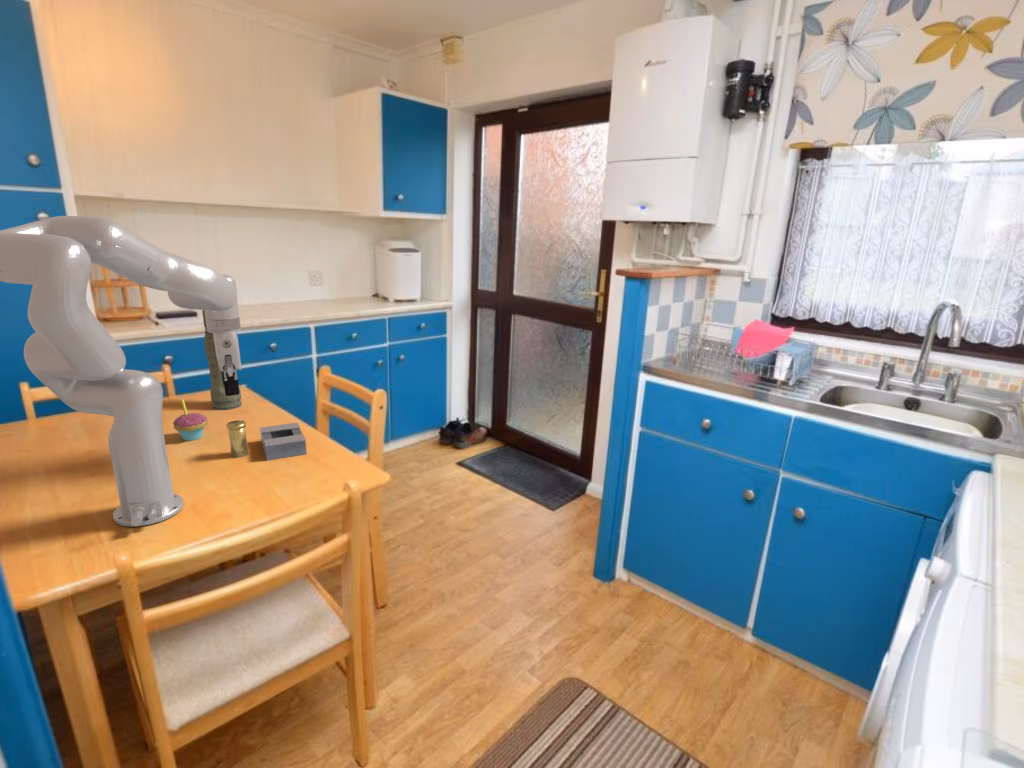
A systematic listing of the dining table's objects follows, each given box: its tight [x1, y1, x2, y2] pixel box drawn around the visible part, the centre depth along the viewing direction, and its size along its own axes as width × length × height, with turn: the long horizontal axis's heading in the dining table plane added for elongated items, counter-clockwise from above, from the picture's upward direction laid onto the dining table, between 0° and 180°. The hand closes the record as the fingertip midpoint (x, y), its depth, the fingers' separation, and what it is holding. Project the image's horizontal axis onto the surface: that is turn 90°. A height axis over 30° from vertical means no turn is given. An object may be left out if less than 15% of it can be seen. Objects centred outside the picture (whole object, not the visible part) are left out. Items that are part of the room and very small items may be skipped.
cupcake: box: [172, 396, 209, 442], centre depth 152 cm, size 9×8×12 cm
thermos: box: [201, 310, 243, 411], centre depth 175 cm, size 9×12×35 cm
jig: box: [259, 422, 308, 461], centre depth 149 cm, size 14×10×4 cm
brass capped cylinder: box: [225, 419, 249, 459], centre depth 143 cm, size 5×5×9 cm
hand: (231, 389), depth 139 cm, fingers open, 9 cm apart
